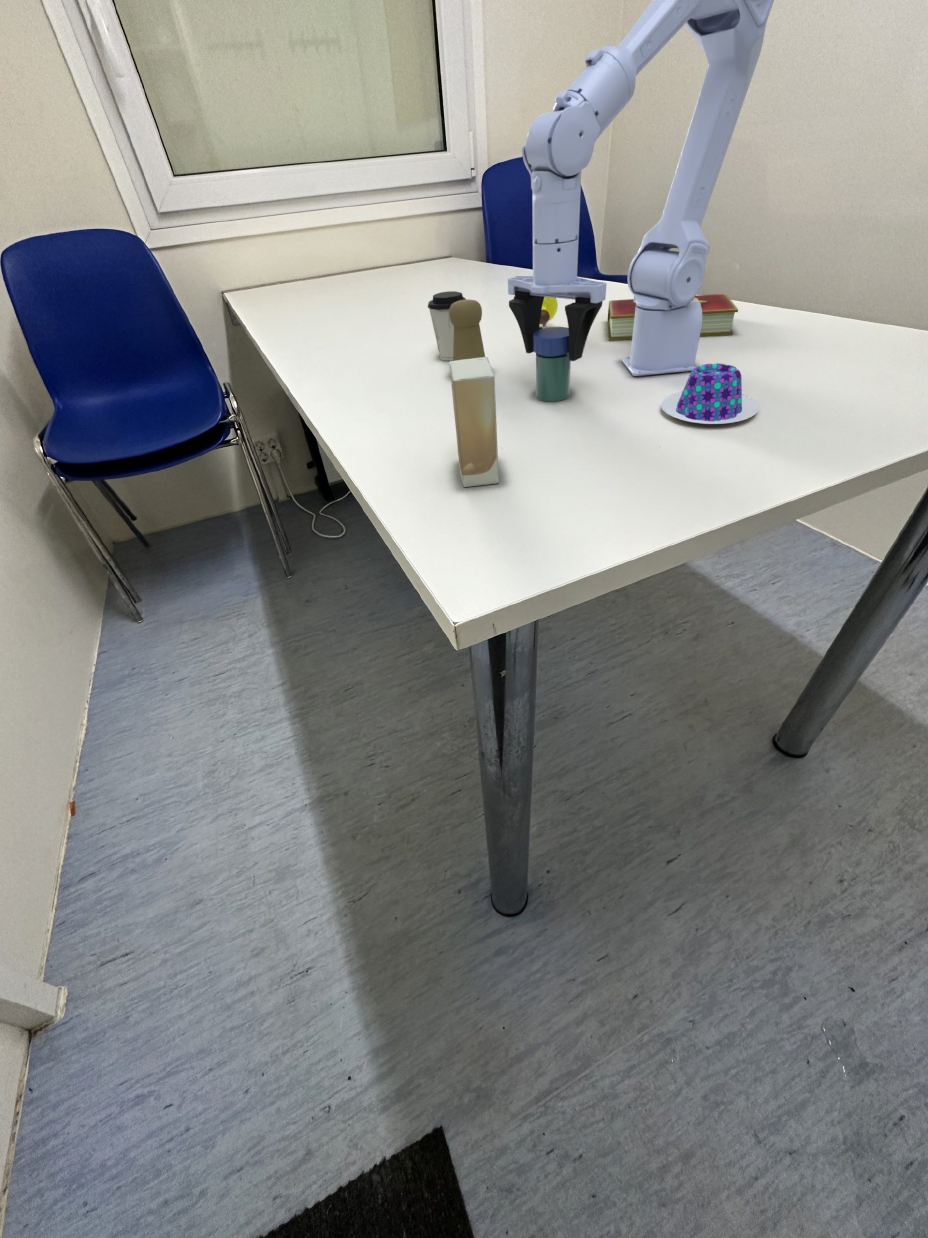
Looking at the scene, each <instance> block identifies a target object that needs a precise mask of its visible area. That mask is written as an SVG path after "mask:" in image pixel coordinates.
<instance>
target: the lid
mask: <svg viewBox="0 0 928 1238" xmlns="http://www.w3.org/2000/svg"><path fill="white" fill-rule="evenodd" d="M533 335H534V336H533V351H534V353H535V355H536V354H539V355H546V356H554V355H562V354H566V353H569V328H568V326H550V327H546V328H543V329H540V330H537V331H536V332H534V334H533Z"/></svg>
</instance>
